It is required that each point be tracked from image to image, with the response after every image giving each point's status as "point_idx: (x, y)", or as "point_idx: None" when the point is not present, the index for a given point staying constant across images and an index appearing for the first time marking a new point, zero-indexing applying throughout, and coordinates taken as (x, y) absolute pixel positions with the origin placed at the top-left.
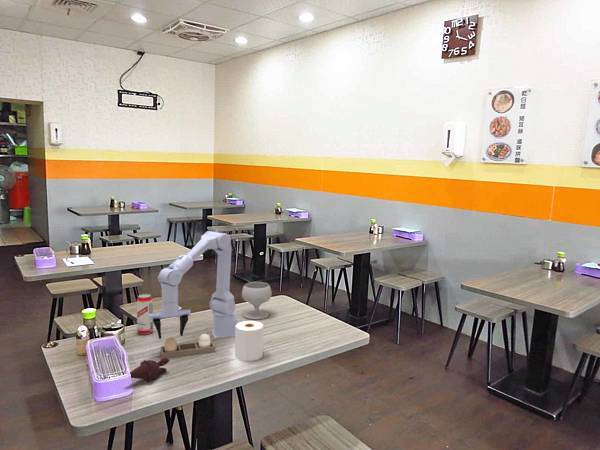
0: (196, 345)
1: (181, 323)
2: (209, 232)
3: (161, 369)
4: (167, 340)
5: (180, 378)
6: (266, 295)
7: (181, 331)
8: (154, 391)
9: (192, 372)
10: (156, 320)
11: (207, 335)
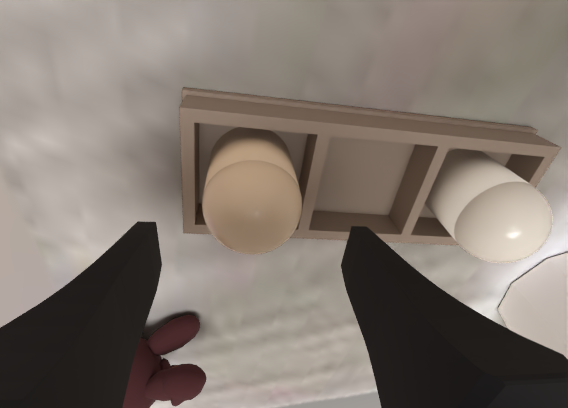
0: (425, 193)
1: (386, 403)
2: None
3: (173, 349)
4: (223, 241)
5: (246, 358)
6: None
7: (356, 309)
8: None
9: (299, 337)
10: None
11: (531, 254)
